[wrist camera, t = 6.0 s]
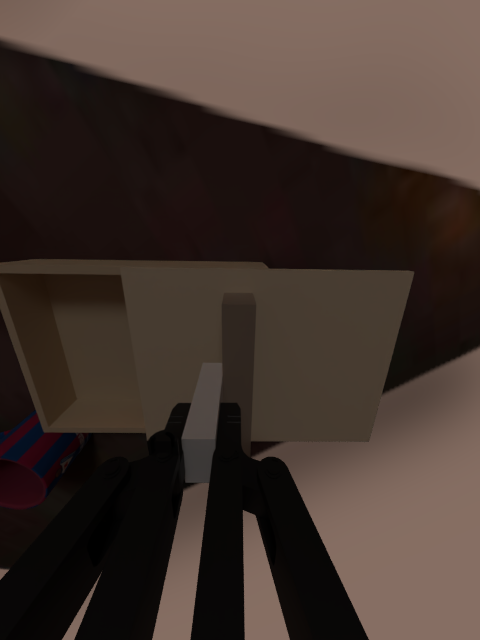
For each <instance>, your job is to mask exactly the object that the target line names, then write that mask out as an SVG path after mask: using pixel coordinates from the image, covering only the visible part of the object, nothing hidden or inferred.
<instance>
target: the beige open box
mask: <svg viewBox="0 0 480 640" xmlns="http://www.w3.org/2000/svg"><path fill="white" fill-rule="evenodd" d="M122 267H170V268H242V269H269V268H268V267H267V266H266V265H265V264H264V263H263V262H211V261H141V260H71V259H33V260H23V261H13V262H3V263H0V309H1V312H2V315H3V318H4V321H5V324H6V326H7V329H8V332H9V335H10V338H11V341H12V343H13V346H14V349H15V352H16V355H17V358H18V360H19V363H20V366H21V369H22V372H23V375H24V377H25V380H26V383H27V386H28V389H29V392H30V394H31V397H32V400H33V403H34V406H35V409H36V412H37V414H38V417H39V420H40V423H41V426H42V429H43V431H44V432H59V433H146V429H145V423H144V416H143V410H142V404H141V398H140V391H139V385H138V379H137V372H136V366H135V360H134V354H133V347H132V341H131V335H130V328H129V322H128V316H127V309H126V303H125V297H124V291H123V284H122V278H121V272H120V268H122Z"/></svg>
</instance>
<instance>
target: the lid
mask: <svg viewBox="0 0 480 640" xmlns="http://www.w3.org/2000/svg"><path fill="white" fill-rule="evenodd" d="M120 272H121V278H122V284H123V291H124V297H125V303H126V309H127V316H128V322H129V328H130V335H131V341H132V347H133V354H134V360H135V366H136V372H137V379H138V385H139V391H140V398H141V404H142V410H143V416H144V423H145V429H146V435H147V441H148V439H149V438H150V437H151V436H152V435H153V434H154V433H156V432H158V431H161V430H164V429H165V427H166V424H167V421H168V419H169V417H170V414H171V411H172V409H173V408H174V407H175V406H176V405H177V404H178V403H192V400H193V396H194V393H195V389H196V386H197V382H198V379H199V375H200V371H201V368H202V364H203V363H222V374H223V403H238V405H239V407H240V408H241V445H242V449H243V451H244V453H245V454H246V455H247V456H249V457H250V449H251V441H359V442H361V441H362V442H368V441H369V439H370V436H371V432H372V428H373V425H374V421H375V417H376V414H377V410H378V406H379V402H380V399H381V395H382V391H383V387H384V384H385V380H386V376H387V373H388V369H389V365H390V361H391V358H392V354H393V350H394V346H395V343H396V339H397V335H398V332H399V328H400V324H401V320H402V317H403V313H404V309H405V305H406V302H407V298H408V294H409V291H410V287H411V283H412V279H413V276H414V272H412V271H386V270H314V269H242V268H170V267H122V268H120Z"/></svg>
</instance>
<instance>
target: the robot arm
mask: <svg viewBox="0 0 480 640" xmlns="http://www.w3.org/2000/svg"><path fill="white" fill-rule="evenodd" d="M147 443H148V450H149V456H147V457H145V458H143V459H140V460H137V461H133V462H130V463H129V462H128V460H127V459H126V458H124V457H114V458H111V459H109V460H107V461H105V462H104V463H103V464H102V465H100V466H99V467H98V468H97V470H96V471H95V472H94V473H93V474H92V475H91V477H90V478H89V479H88V480H87V481H86V482H85V483H84V485H83V486H82V487H81V488H80V489H79V490H78V491H77V493H76V494H75V495H74V496H73V497H72V498H71V500H70V501H69V502H68V503H67V504H66V505H65V506H64V508H63V509H62V510H61V511H60V512H59V513H58V514H57V516H56V517H55V518H54V519H53V520H52V521H51V522H50V524H49V525H48V526H47V527H46V528H45V529H44V531H43V532H42V533H41V534H40V535H39V536H38V537H37V539H36V540H35V541H34V542H33V543H32V544H31V545H30V547H29V548H28V549H27V550H26V551H25V552H24V553H23V555H22V556H21V557H20V558H19V559H18V560H17V562H16V563H15V564H14V565H13V566H12V567H11V568H10V570H9V571H8V572H7V573H6V574H5V576H4V577H3V578H2V579H1V580H0V640H62V638H63V637H64V635H65V633H66V632H67V630H68V628H69V627H70V625H71V623H72V622H73V620H74V618H75V616H76V615H77V613H78V611H79V610H80V608H81V606H82V605H83V603H84V601H85V599H86V598H87V596H88V594H89V593H90V591H91V589H92V588H93V586H94V584H95V582H96V581H97V579H98V577H99V576H100V574H101V576H100V578H99V580H98V583H97V585H96V588H95V590H94V593H93V595H92V598H91V600H90V603H89V605H88V607H87V610H86V612H85V615H84V618H83V620H82V622H81V625H80V627H79V629H78V632H77V635H76V637H75V639H74V640H152V638H153V633H154V628H155V623H156V619H157V614H158V610H159V605H160V600H161V595H162V591H163V586H164V581H165V576H166V572H167V567H168V562H169V558H170V553H171V549H172V544H173V539H174V534H175V530H176V525H177V520H178V515H179V511H180V506H181V502H182V496H183V482H184V477H185V483H209V490H208V499H207V507H206V515H205V516H206V517H205V524H204V532H203V540H202V548H201V557H200V565H199V574H198V582H197V591H196V598H195V607H194V615H193V623H192V632H191V640H245V639H244V638H245V632H244V569H243V568H244V566H243V565H244V564H243V510H244V511H247V512H249V513H252V514H254V515H256V518H257V521H258V525H259V529H260V533H261V536H262V540H263V544H264V547H265V551H266V555H267V558H268V562H269V565H270V569H271V573H272V576H273V580H274V584H275V587H276V591H277V594H278V598H279V602H280V605H281V609H282V613H283V616H284V620H285V624H286V627H287V630H288V634H289V638H290V640H369V639H368V637H367V635H366V633H365V631H364V629H363V626H362V624H361V622H360V620H359V618H358V616H357V614H356V612H355V609H354V607H353V605H352V603H351V601H350V599H349V597H348V595H347V592H346V590H345V588H344V586H343V584H342V582H341V580H340V578H339V575H338V573H337V571H336V569H335V567H334V565H333V563H332V561H331V559H330V556H329V554H328V552H327V550H326V548H325V546H324V544H323V542H322V539H321V537H320V535H319V533H318V531H317V529H316V527H315V525H314V523H313V521H312V518H311V516H310V514H309V512H308V510H307V508H306V506H305V504H304V501H303V499H302V497H301V495H300V493H299V491H298V489H297V486H296V484H295V482H294V480H293V478H292V476H291V474H290V472H289V470H288V467H287V466H286V464H285V463H284V462H283V461H282V460H280V459H279V458H276V457H266V458H264V459H262V460H261V461H258V460H255V459H252V458H250V457H249V456H247V455H246V454H245V453H244V451H243V449H242V445H241V408H240V407H239V405H238V403H223V374H222V363H203V364H202V368H201V371H200V375H199V379H198V382H197V386H196V389H195V393H194V396H193V400H192V403H178V404H177V405H176V406H175V407H174V408H173V409H172V411H171V414H170V417H169V419H168V421H167V424H166V427H165V429H164V430H161V431H158V432H156V433H154V434H153V435H152V436H151V437H150V438H149V439H148V441H147ZM102 570H103V571H102ZM101 572H102V573H101Z"/></svg>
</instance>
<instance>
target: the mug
mask: <svg viewBox="0 0 480 640" xmlns="http://www.w3.org/2000/svg"><path fill="white" fill-rule="evenodd" d="M91 435H92V433H59V432H44V431H43V429H42V426H41V423H40V420H39V417H38V414H37V412H36V410H35V411H34V412H32V413H31V414H30V415H29V416H28V417H26V418H25V419H24V420H23V421H22V422H21V423H19V424H18V425H17V426H16V427H15V428H13V429H12V430H10V431H5V432H2V433H0V506H1V507H4V508H10V509H28V508H32V507H36V506H38V505H40V504H41V503H42V502H43V501H44V500H45V499H46V497H47V496H48V495H49V493H50V492H51V491H52V489H53V488H54V487H55V485H56V484H57V483H58V481H59V480H60V478H61V477H62V476H63V474H64V473H65V472H66V470H67V469H68V468H69V466H70V465H71V464H72V462H73V461H74V459H75V458H76V457H77V455H78V454H79V453H80V451H81V450H82V449H83V447H84V446H85V445H86V443H87V442H88V440H89V439H90V437H91Z"/></svg>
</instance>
